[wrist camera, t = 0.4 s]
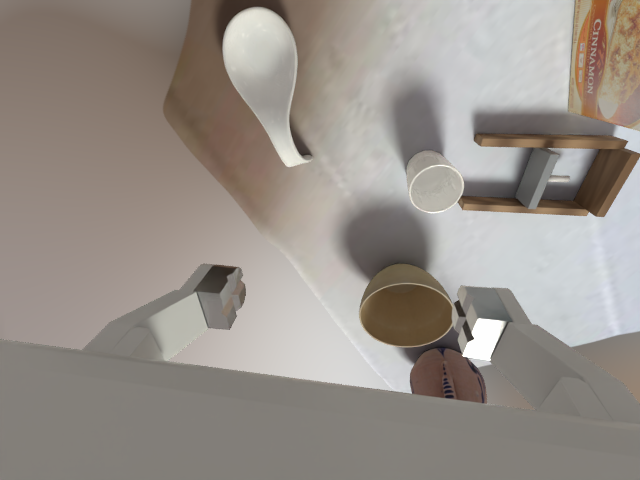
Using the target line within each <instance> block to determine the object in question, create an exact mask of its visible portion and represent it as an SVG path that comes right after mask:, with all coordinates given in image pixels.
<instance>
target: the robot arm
mask: <svg viewBox="0 0 640 480" xmlns="http://www.w3.org/2000/svg"><path fill="white" fill-rule="evenodd" d="M242 276H243V274H242V270H241V268H239V267H233V266H224V265H212V264H202V265H200V266H199V267H198V268H197V270H196V271H195V272H194V273H193V274H192V276H191V277H190V278H189V279H188V281H187V282H186V283H185V284H184V285H183V286H182V287H181V289H180V290H174V291H172V292H170V293H168V294H166V295H164V296H162V297H160V298H158V299H156V300H154V301H152V302H150V303H148V304H146V305H144V306H142V307H140V308H138V309H136V310H134V311H132V312H130V313H128V314H126V315H124V316H122V317H120V318H118V319H115V320H113V321H111V322H110V323H109V324H108V325H107V326H106V327H105V328H104V329H103V330H102V331H101V332H100V333H99V334H98V335H97V336H96V337H95V338H94V339H93V340H92V341H91V342H90V343H89V344H88V345H87V346H86V347H85V348H84V349H83V350H78V349H71V348H63V347H56V346H48V345H40V344H33V343H24V342H18V341H10V340H2V339H0V480H640V404H639V402H638V401H637V400H636V399H635V397H634V396H633V395H632V393H631V392H630V391H629V390H628V388H627V387H626V386H625V385H624V383H623V382H621V381H620V380H618V379H617V378H615V377H614V376H612V375H611V374H609V373H608V372H606V371H605V370H603V369H602V368H600V367H599V366H597V365H596V364H595V363H593V362H591V361H590V360H589V359H587V358H586V357H584V356H583V355H581V354H579V353H578V352H577V351H575V350H574V349H572V348H571V347H569V346H568V345H566V344H565V343H563V342H562V341H560V340H559V339H557V338H556V337H554V336H553V335H551V334H550V333H548V332H547V331H545V330H544V329H542V328H541V327H540V326H538V325H533V324H532V323H531V322H530V320H529V319H528V317H527V315H526V314H525V312H524V311H523V309H522V308H521V306H520V304H519V303H518V301H517V300H516V298H515V296H514V295H513V293H512V292H511V290H509V289H508V288H487V287H474V286H460V288H459V290H458V293H457V295H458V298H459V300H458V301H456V302H455V303H454V305H453V309H452V323H453V327H454V330H455V331H457V332H458V333H459V337H458V343H459V346H460V349H461V352H462V355H463V356H465V357H472V358H479V359H486V360H490V362H491V363H492V364H493V365H494V366H495V367H496V368H497V369H498V370H499V372H500V373H501V374H502V375H503V376H504V377H505V378H506V379H507V380H508V381H509V382H510V383H511V384H512V385H513V387H514V388H515V389H516V390H517V391H518V392H519V393H520V394H521V395H522V396H523V397H524V398H525V399H526V400H527V402H528V403H529V404H530V405H531V406H532V407H533V408H534V409H535V410H530V409H521V408H514V407H507V406H499V405H491V404H485V403H477V402H470V401H462V400H455V399H447V398H440V397H432V396H425V395H417V394H409V393H402V392H394V391H387V390H379V389H372V388H364V387H356V386H349V385H342V384H334V383H327V382H319V381H312V380H303V379H296V378H289V377H281V376H274V375H267V374H259V373H252V372H244V371H236V370H229V369H221V368H213V367H207V366H199V365H191V364H184V363H176V362H169V361H168V360H170V359H171V358H172V357H173V356H175V355H176V354H177V353H178V352H180V351H181V350H182V349H184V348H185V347H186V346H187V345H188V344H190V343H191V342H193V341H194V340H195V339H196V338H198V337H199V336H200V335H201V334H202V333H204V332H205V331H207V330H208V328H215V329H227V330H230V328H231V326H232V324H233V322H234V321H235V319H236V317H237V316H236V311H237V310H238V309H240V308H241V307H242V305H243V303H244V300H245V296H246V289H245V284H244V283H243V282H242V281H241V278H242Z"/></svg>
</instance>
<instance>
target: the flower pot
mask: <svg viewBox="0 0 640 480" xmlns="http://www.w3.org/2000/svg"><path fill="white" fill-rule="evenodd" d="M452 309H453V304H452V302H451V300H450V298H449V296H448V294H447V293H446V291H445V290H444V288H443V287H442V286H441V285H440V283H439V282H438V281H437V280H436V279H435V278H434V277H433V276H431V275H430V274H429V273H427V272H426V271H424V270H423V269H421V268H419V267H416V266H413V265H409V264H394V265H391V266H388V267H386V268H385V269H383V270H381V271H380V272H379V273H378V274H377V275H375V276H374V278H373V279H372V280H371V281H370V283H369V284H368V286H367V288H366V290H365V292H364V295H363V298H362V301H361V305H360V311H359V319H360V322H361V325H362V327H363V328H364V330H365V331H366V332H367V333H368V334H369V335H370V336H371V337H372V338H374V339H376V340H377V341H379V342H382V343H384V344H387V345H391V346H396V347H418V346H423V345H427V344H430V343H432V342H435V341H437V340H438V339H440V338H441V337H443V336H444V335H445V334H446V333H447V332H448V331H449V330H450V329H451V327H452V325H453V323H452Z"/></svg>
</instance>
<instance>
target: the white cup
mask: <svg viewBox="0 0 640 480" xmlns="http://www.w3.org/2000/svg"><path fill="white" fill-rule="evenodd" d="M406 172H407V186H408V191H409V197H410V200H411V202H412V204H413V205H414V206H415V207H416V208H417V209H419V210H421V211H423V212H427V213H438V212H442V211H445V210H447V209H449V208H450V207H452V206H453V205H454V204H456V203H457V201H458V200H459V199H460V197H461V195H462V193H463V190H464V180H463V177H462V175H461V174H460V172H459V171H458V170H457V169H456V168H455V167H454V166H453V165H452V164H451V163H450V162H449V161H448V160H447V159H446V158H444V157H443V156H442V155H441V154H439V153H437V152H435V151H433V150H426V151H422V152H419V153H417V154H415V155H414V156H413V157H412V158H411V159H410V160H409V162H408V165H407V168H406Z"/></svg>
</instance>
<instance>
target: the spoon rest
mask: <svg viewBox="0 0 640 480" xmlns="http://www.w3.org/2000/svg"><path fill="white" fill-rule="evenodd" d="M223 58H224V63H225V67H226V70H227V73H228V75H229V77H230V79H231V81H232V83H233V85H234V86H235V88H236V89H237V91H238V92H239V94H240V95H241V96H242V98H243V99H244V100H245V102H246V103H247V104H248V106H249V107H250V108H251V110H252V111H253V112H254V114H255V115H256V116H257V118H258V119H259V120H260V122H261V123H262V125H263V127H264V128H265V130H266V132H267V133H268V135H269V137H270V139H271V141H272V143H273V145H274V147H275V149H276V151H277V152H278V154H279V156H280V158H281V159H282V161H283V162H284V164H285V165H286V166H287V167H292V166H296V165H299V164H303V163H307V162H310V161H311V160H312V159H313V157H312V156H311V155H303V156H301V155H300V154H299V152H298V151H297V149H296V147H295V144H294V142H293V139H292V135H291V131H290V125H289V114H290V107H291V102H292V97H293V93H294V88H295V83H296V76H297V66H298V57H297V48H296V43H295V39H294V37H293V34H292V32H291V30H290V28H289V27H288V25H287V24H286V22H285V21H284V20H283V19H282V18H281V17H280V16H279V15H278V14H277V13H275V12H274V11H272V10H270V9H267V8H264V7H251V8H248V9H245V10H243V11H241V12H239V13H238V14H237V15H235V16H234V17H233V18H232V20H231V21H230V22H229V24H228V26H227V27H226V30H225V33H224V37H223Z"/></svg>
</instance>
